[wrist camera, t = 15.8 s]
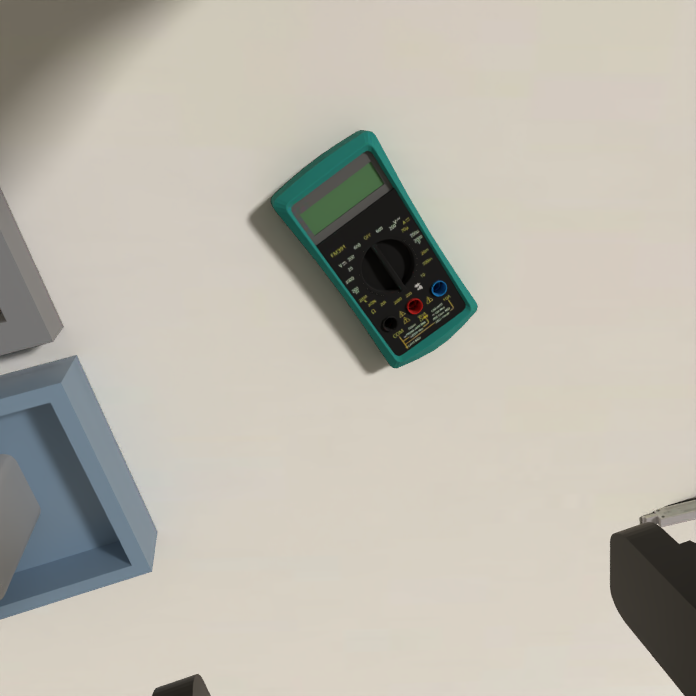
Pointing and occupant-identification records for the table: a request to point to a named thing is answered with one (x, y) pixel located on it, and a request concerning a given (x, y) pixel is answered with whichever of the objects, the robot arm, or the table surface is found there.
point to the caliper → (673, 514)
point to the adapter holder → (22, 292)
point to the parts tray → (70, 489)
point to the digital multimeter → (375, 248)
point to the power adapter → (14, 518)
